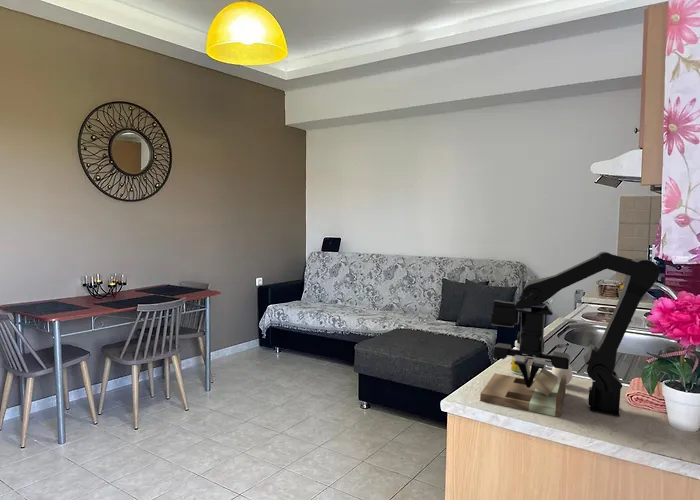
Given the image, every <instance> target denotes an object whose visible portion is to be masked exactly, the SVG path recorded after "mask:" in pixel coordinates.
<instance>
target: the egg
mask: <svg viewBox="0 0 700 500" xmlns="http://www.w3.org/2000/svg"><path fill="white" fill-rule="evenodd" d="M551 373H552V374H554V375H555V376H557V377H558V378H559V379H558V383H557V384H558V385H560V382H561V378H562V375H567V376H566V386H567V385H568V384H569V383H571V382H572V378H573V368H572V365H571V364H570V365H569V369H560V368H555V367H554V366H553V365H552V368H551Z"/></svg>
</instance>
